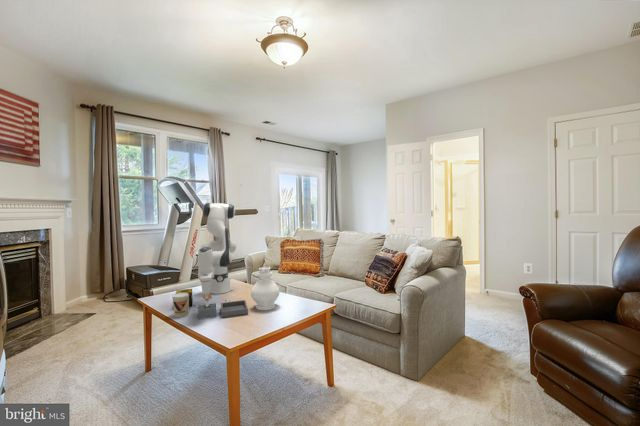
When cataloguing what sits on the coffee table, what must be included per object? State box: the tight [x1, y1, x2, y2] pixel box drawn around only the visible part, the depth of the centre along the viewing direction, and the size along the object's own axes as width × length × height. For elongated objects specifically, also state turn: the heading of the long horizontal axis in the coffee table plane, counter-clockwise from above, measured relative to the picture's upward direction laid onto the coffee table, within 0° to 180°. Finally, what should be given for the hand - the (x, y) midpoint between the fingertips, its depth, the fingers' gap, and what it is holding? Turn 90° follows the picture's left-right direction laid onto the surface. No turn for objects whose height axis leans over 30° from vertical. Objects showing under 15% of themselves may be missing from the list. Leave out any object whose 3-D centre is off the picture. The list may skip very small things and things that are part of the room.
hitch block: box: [197, 302, 217, 320], centre depth 183 cm, size 10×10×5 cm
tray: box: [220, 299, 249, 319], centre depth 188 cm, size 18×15×4 cm
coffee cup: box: [172, 293, 190, 318], centre depth 185 cm, size 9×9×12 cm
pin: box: [201, 293, 212, 308], centre depth 183 cm, size 2×5×12 cm, turn 109°
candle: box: [174, 288, 194, 308], centre depth 201 cm, size 10×10×10 cm
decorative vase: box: [250, 266, 280, 311], centre depth 195 cm, size 18×18×25 cm
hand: (206, 297), depth 183 cm, fingers closed on pin, 2 cm apart
